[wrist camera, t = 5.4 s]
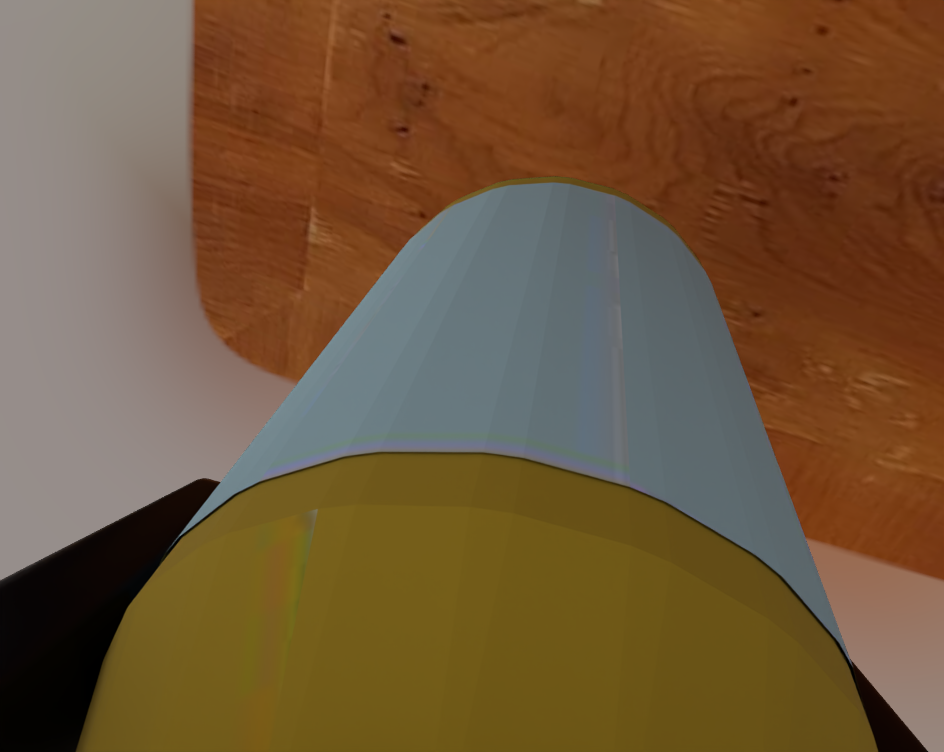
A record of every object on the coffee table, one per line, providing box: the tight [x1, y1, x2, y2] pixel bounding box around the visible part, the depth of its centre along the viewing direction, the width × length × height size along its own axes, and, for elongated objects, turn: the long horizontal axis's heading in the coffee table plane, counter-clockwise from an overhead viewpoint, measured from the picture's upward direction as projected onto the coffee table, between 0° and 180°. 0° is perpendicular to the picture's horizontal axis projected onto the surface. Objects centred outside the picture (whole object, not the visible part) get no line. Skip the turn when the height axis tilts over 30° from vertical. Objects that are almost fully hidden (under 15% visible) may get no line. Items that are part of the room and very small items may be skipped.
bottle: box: [76, 176, 878, 752], centre depth 9 cm, size 7×7×15 cm
